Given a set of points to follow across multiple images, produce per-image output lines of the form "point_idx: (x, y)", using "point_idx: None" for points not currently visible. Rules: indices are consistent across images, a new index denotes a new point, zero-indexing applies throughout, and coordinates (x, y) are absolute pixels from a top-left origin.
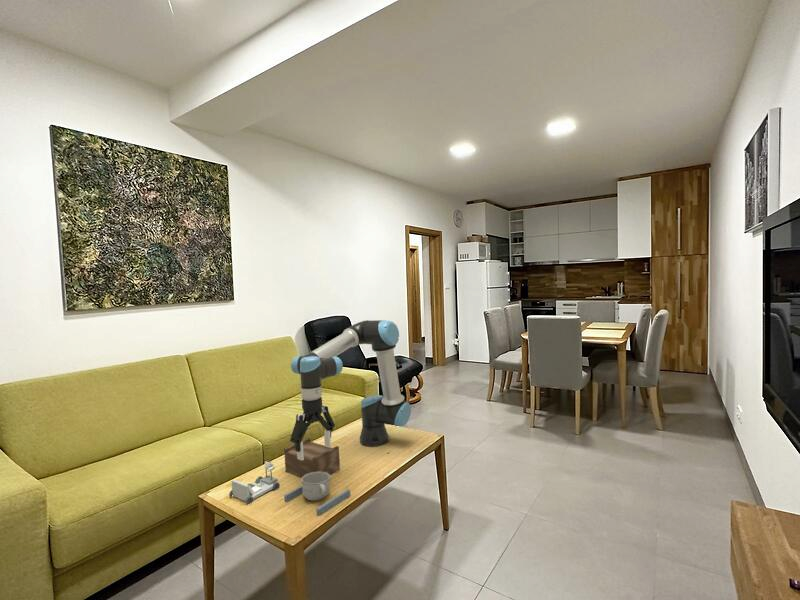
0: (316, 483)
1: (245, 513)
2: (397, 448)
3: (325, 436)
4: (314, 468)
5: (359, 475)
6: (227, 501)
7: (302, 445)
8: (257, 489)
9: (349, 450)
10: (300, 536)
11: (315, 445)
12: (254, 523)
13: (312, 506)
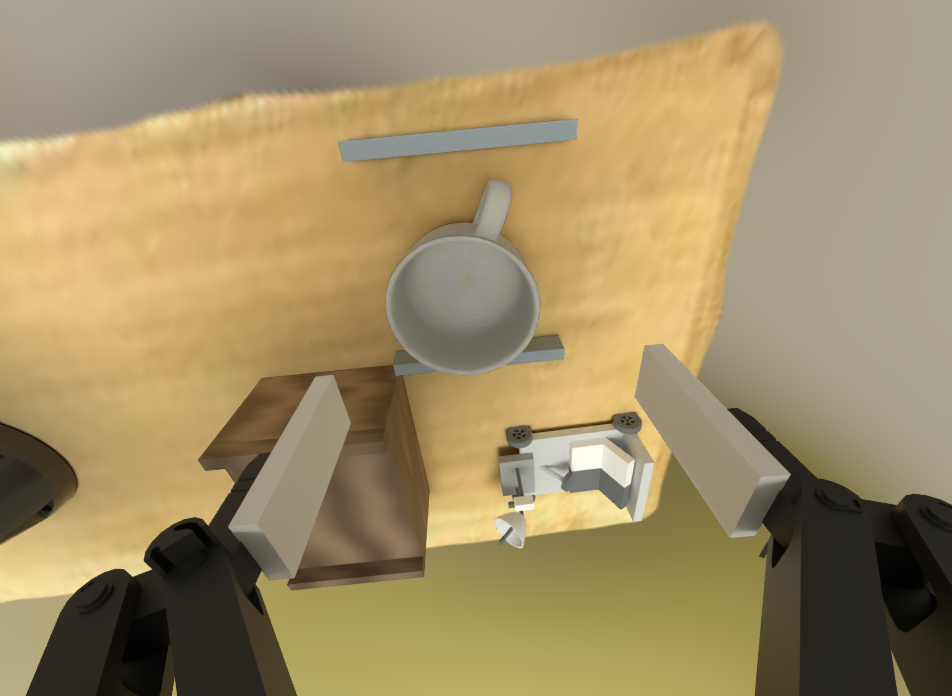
0: (508, 251)
1: None
2: None
3: (314, 492)
4: (391, 407)
5: (203, 273)
6: None
7: (739, 444)
8: (585, 450)
9: (150, 469)
10: (731, 44)
11: None
12: (711, 305)
13: (523, 225)
